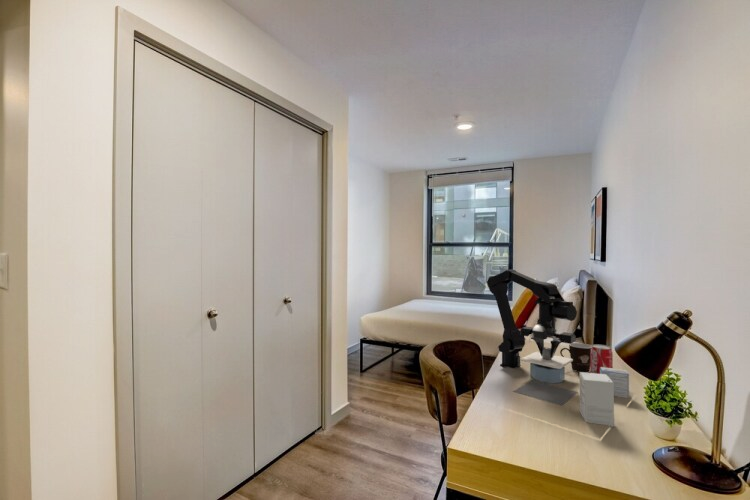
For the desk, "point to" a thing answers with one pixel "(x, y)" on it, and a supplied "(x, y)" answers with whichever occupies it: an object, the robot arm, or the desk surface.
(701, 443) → the desk surface
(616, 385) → the medicine box
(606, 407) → the supplement box
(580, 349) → the coffee mug
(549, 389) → the mat
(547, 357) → the lid
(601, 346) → the soda can
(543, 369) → the bowl
